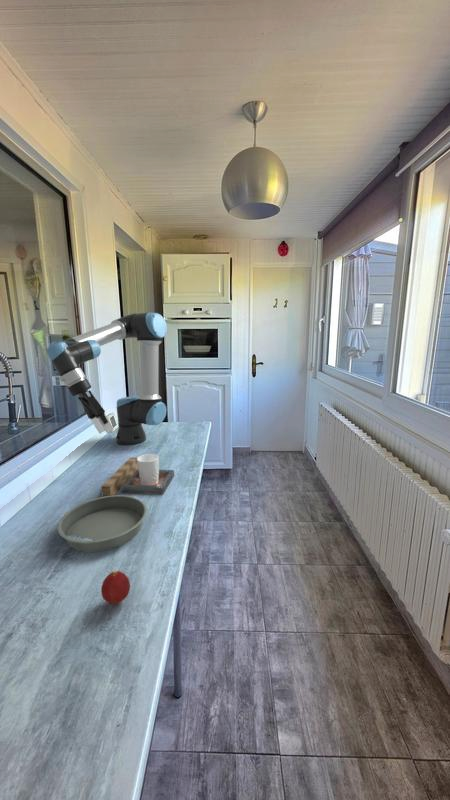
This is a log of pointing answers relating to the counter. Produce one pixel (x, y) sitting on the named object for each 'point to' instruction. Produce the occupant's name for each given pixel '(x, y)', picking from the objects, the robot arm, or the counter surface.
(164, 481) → the square tray
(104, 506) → the cake pan
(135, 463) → the board
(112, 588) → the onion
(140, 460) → the white cup
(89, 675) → the counter surface
